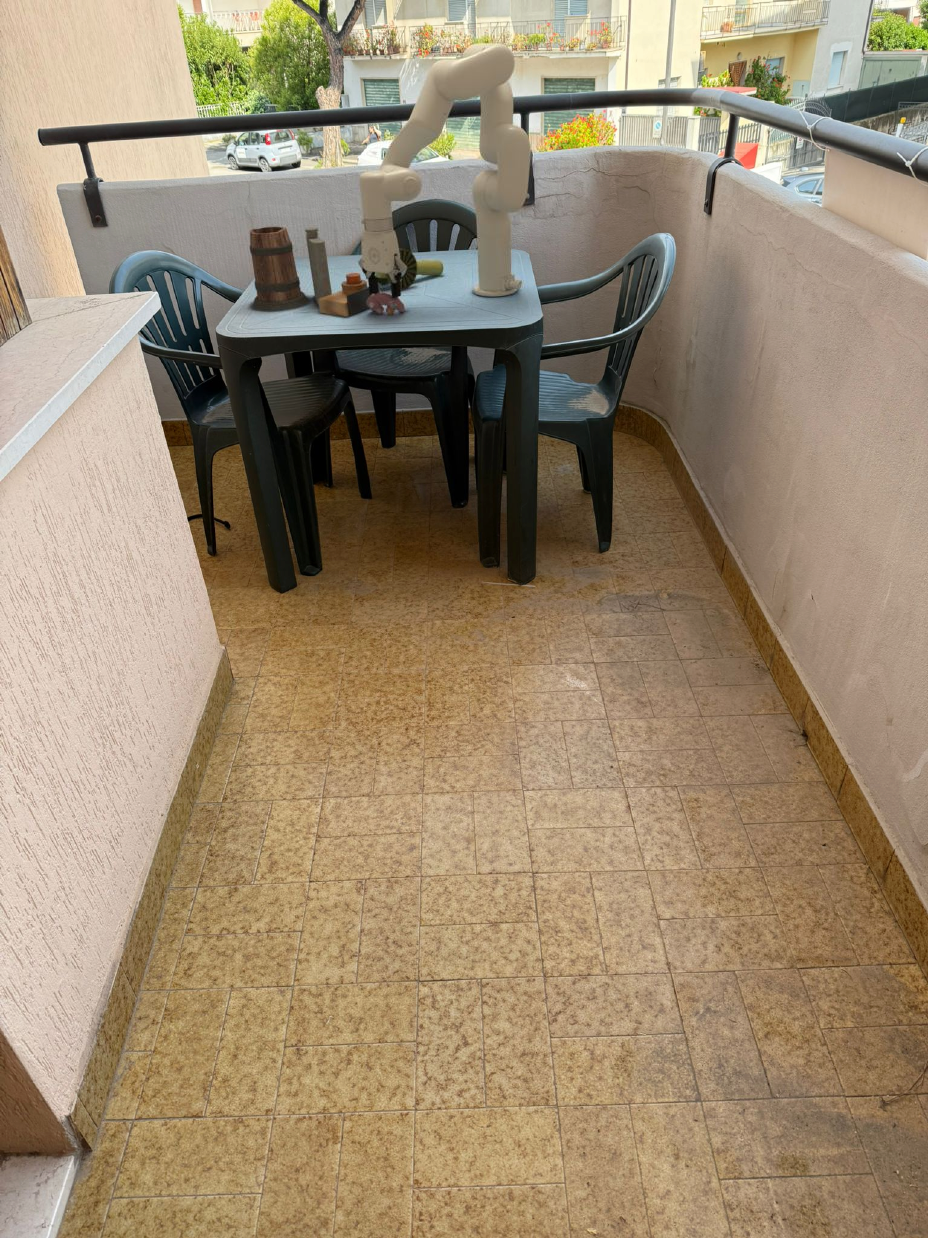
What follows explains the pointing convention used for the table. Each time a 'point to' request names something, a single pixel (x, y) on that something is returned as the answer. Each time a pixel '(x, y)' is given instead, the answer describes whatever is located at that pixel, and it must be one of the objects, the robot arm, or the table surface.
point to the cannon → (412, 269)
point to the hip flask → (318, 264)
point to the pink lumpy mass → (384, 303)
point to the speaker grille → (358, 300)
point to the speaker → (340, 299)
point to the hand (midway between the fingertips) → (385, 294)
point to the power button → (353, 278)
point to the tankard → (275, 270)
